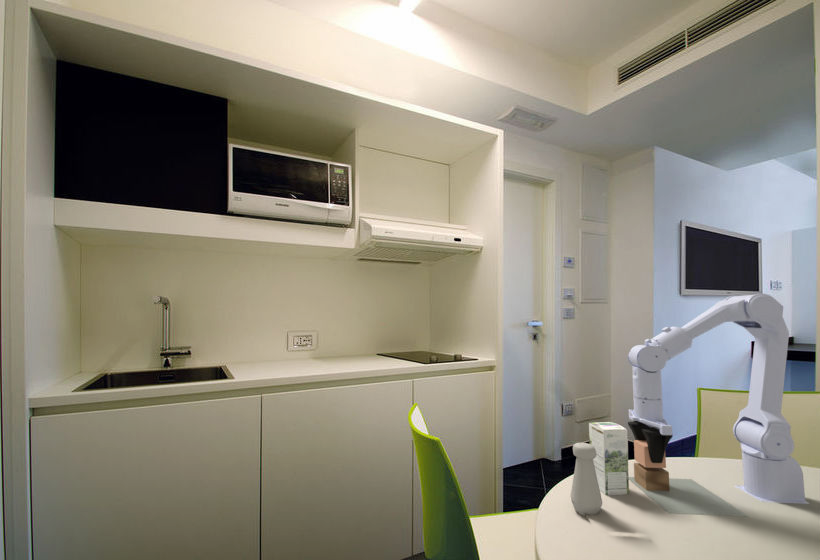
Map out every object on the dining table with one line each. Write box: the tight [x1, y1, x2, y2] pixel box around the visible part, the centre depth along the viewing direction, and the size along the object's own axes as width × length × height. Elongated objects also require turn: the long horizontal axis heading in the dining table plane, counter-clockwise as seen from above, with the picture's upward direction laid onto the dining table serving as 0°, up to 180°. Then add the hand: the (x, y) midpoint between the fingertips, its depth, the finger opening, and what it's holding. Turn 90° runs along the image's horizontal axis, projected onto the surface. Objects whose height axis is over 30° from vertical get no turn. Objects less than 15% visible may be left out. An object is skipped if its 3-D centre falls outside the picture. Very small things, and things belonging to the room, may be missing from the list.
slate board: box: [629, 476, 749, 517], centre depth 84 cm, size 15×17×1 cm
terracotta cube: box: [633, 439, 667, 469], centre depth 89 cm, size 4×4×4 cm
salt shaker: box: [570, 442, 603, 517], centre depth 78 cm, size 6×6×13 cm
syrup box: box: [588, 421, 630, 496], centre depth 87 cm, size 6×6×14 cm
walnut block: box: [633, 462, 670, 491], centre depth 88 cm, size 5×5×4 cm
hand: (650, 458), depth 88 cm, fingers closed on terracotta cube, 4 cm apart
